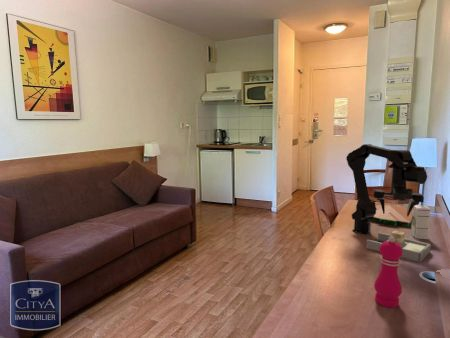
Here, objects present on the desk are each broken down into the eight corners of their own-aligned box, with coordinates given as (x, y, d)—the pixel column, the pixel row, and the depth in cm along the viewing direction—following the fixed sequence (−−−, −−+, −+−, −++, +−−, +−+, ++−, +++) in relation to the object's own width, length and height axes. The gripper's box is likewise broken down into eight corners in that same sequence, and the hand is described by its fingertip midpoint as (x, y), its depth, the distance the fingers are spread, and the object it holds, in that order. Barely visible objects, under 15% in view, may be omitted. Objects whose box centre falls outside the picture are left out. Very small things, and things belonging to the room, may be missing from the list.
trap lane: (366, 247, 138) (366, 239, 137) (378, 239, 148) (378, 232, 147) (420, 262, 124) (421, 253, 123) (429, 252, 134) (430, 244, 133)
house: (360, 222, 176) (361, 207, 175) (372, 209, 203) (373, 196, 202) (409, 230, 163) (410, 214, 162) (415, 215, 190) (416, 201, 189)
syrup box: (428, 239, 149) (431, 208, 147) (414, 238, 150) (417, 207, 148) (423, 235, 154) (426, 205, 152) (409, 234, 156) (412, 204, 154)
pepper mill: (368, 295, 99) (373, 232, 96) (391, 295, 100) (396, 232, 97) (381, 309, 92) (387, 241, 89) (406, 308, 92) (412, 240, 90)
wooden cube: (390, 241, 138) (391, 232, 138) (393, 239, 141) (394, 230, 141) (400, 244, 136) (401, 234, 135) (403, 241, 138) (404, 232, 138)
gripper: (376, 181, 134) (372, 217, 137) (428, 185, 128) (423, 223, 130) (374, 176, 145) (371, 210, 147) (422, 180, 138) (418, 215, 140)
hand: (395, 214), depth 141 cm, fingers open, 9 cm apart
